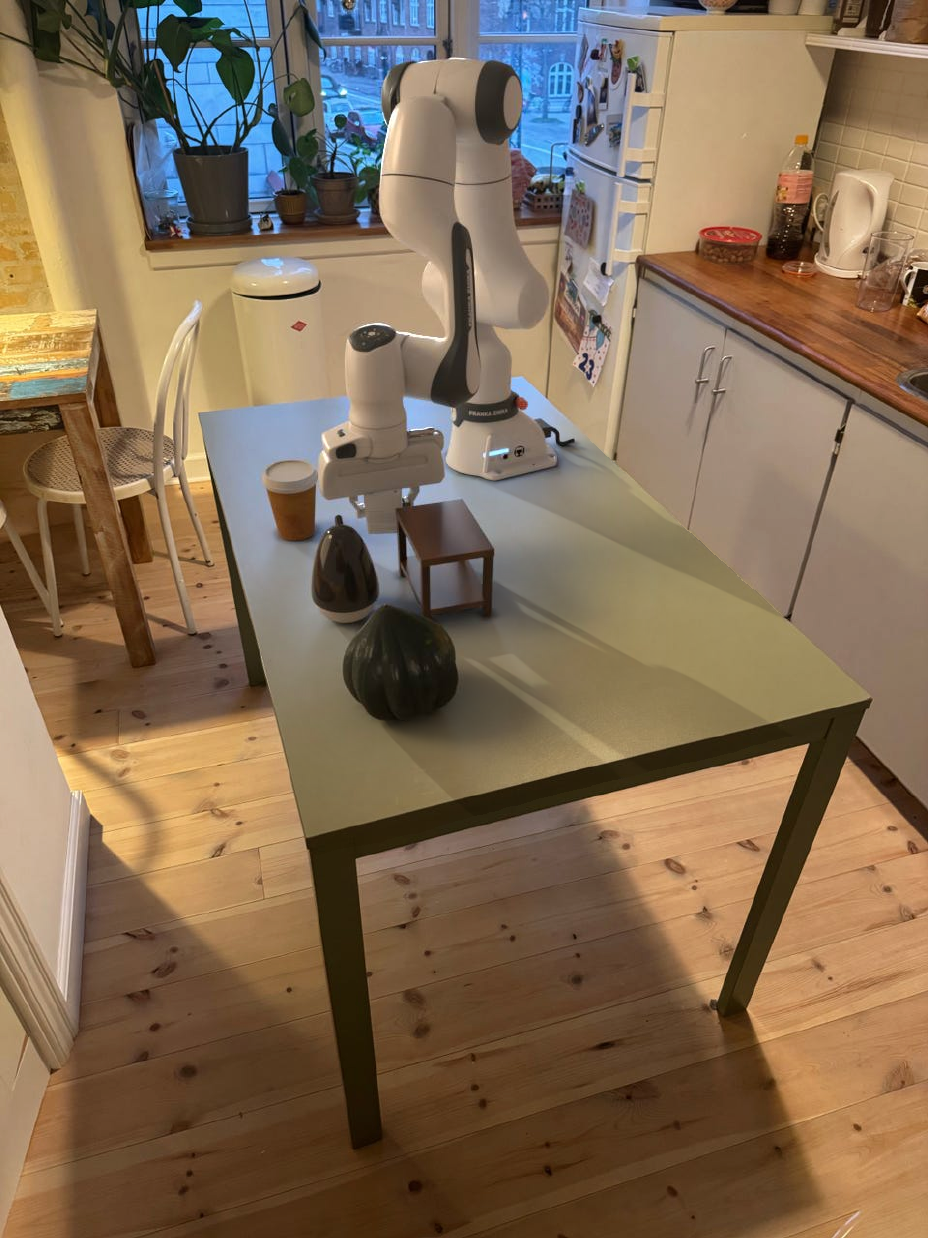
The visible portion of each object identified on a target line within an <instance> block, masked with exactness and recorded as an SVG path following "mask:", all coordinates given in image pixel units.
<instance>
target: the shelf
mask: <svg viewBox="0 0 928 1238" xmlns="http://www.w3.org/2000/svg"><path fill="white" fill-rule="evenodd" d="M395 513H396V518H397V533H396V538H397V539H396V540H397V559H398V560H397V561H398V574H399V576H400V577H405V578H406V581H407V583H408V585H409V587H410V589H411V591H412V593H413V596H414V598H415V600H416V602H417V604H418V607H419V609H420V611H421V616H424V617H426V618H428V619H430V620H432V616H434V615H439V614H445V613H450V612H456V611H457V612H458V611H462V610H467V609H474V608H479V607H481V613H482V614H481V615H483V617H484V618H486V617H491V616H493V587H494V585H493V582H494V580H493V579H494V557H495V548H494V546H493V544H492V543H491V541H490V539H489V538H488V536H487V535H486V533H485V532H484V530H483V528H482V527H481V525H480V524H479V523H478V521H477V519H476V518H475V517H474V515H473V513H472V512H471V510H470V508H469V507H468V505H467V504H466V501H464V499H463V498H460V499H453V500H446V501H445V500H444V501H439V502H432V503H425V504H424V503H423V504H415V505H414V506H409V507H402V508H395ZM407 541H408V543H409V545H410V547H411V550H412V551H413V553H414V555H409V556H408V552H407V551H408V549H407ZM477 559H482V581H481V580H480V578H479V576H478V574H477V573H476V571H475V569H474V568H473V566H472V564H471V562H470V560H477Z"/></svg>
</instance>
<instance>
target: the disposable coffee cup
mask: <svg viewBox="0 0 928 1238" xmlns="http://www.w3.org/2000/svg"><path fill="white" fill-rule="evenodd" d="M261 483H262V485H263V487H264V488H265V489H266V493H267V497H268V500H269V504H270V507H271V510H272V514H273V515H272V516H273V519H274V522H275V525H276V529H277V532H278V536H279V537H280V538H281V539H282V540H286V541H291V542H297V541H304V540H306V539H308V538H310V537H312V536H313V535H314V534H315V531H316V504H317V503H316V502H317V500H316V498H317V484H318V470H317V469H316V467H315V465H314V464H313V463H312V462H310V461H307V460H305V459H299V458H298V459H297V458H289V459H281V460H277V461H274V462H272V463H269V464H268V465H267V466H265V468H264V469H263V473H262V476H261Z"/></svg>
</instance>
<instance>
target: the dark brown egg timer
mask: <svg viewBox="0 0 928 1238" xmlns="http://www.w3.org/2000/svg"><path fill="white" fill-rule="evenodd" d="M343 519H344V518H343V516H342V515H341V514H337V515H335V516H334V525H332V526H330V527H329V528H327V530H326V531H324V533H323V534H322V536H321V538H320V540H319V543H318V545H317V548H316V551H315V556H314V560H313V565H312V572H311V573H312V574H311V584H310V587H311V588H310V591H311V599H312V601H313V603H314V604H315V605H316V607H317V609H318V611H319V612H320V613H321V614H322V615H323V617H325V618H327V619H328V620H330V621H332V622H336V623H341V624H351V623H355V622H359V621H361V620H362V619H364V618H366V617H367V616H368V615H369V614H370V613H371V612H372V611H373V610H374V608H375V606H376V603H377V600H378V599H379V597H380V591H381V590H380V583H379V578H378V574H377V570H376V566H375V564H374V560H373V558H372V556H371V554H370V551H369V548H368V546H367V544H366V541H364V539H363V537H362V536H361V534H360V533H359V532H358V531H357V530H356V529H355V528H354V527H353V526H350V525H347V524H345V523H344V520H343Z"/></svg>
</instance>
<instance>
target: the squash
mask: <svg viewBox="0 0 928 1238" xmlns="http://www.w3.org/2000/svg"><path fill="white" fill-rule="evenodd" d="M456 656H457V654H456V647H455V645H454V643H453V640H452V638H451V636H450V635H449V633H448V632H447V630H446V629H445V628H444V627H443V626H442V625H441V624H439V623H438V622H437V621H434V620H433V619H431V620H430V619H428V618H426V617H424V616H422V614H418V613H415V612H413V611H410V610H408V609H404V608H401V607H399V606H396V605H392V604H388V603H383V604H382V605H381V606H380V607H378V608H377V609H376V610H374V612H373V613H372V614H371V616H370V617H369V618H368V620H367V621H366V622H365V623H364V624H363V626H362V627H361V628H360V629H359V631H358V632H357V633H356V634H355V635H354V637H353V638H352V639H351V641H350V642H349V644H348V646H347V647H346V650H345V653H344V656H343V660H342V677H343V682H344V684H345V687H346V688H347V690H348V692H349V693H350V695H351V696H352V697H353V698H354V700H355V701H356V702H358V703H359V704H360V705H362V706H363V708H364V709H365V711H366V712H367V713H368V715H370V717H372V718H374V719H375V720H378V721H379V720H380V721H389V720H392V719H394V718H397V719H398V720H401V721H408V720H410V719H412V717H413V716H414V714H415V713H416V714H419V715H423V714H427V713H429V712H431V711H432V710H437V709H440V708H442V707H445V706H447V704H449V703H450V702H451V701H452V700H453V698H454V697H455V695H456V693H457V690H458V689H457V688H458V683H459V672H458V671H459V670H458V668H457V667H458V666H457V663H456V661H457V660H456V658H457V657H456Z"/></svg>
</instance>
